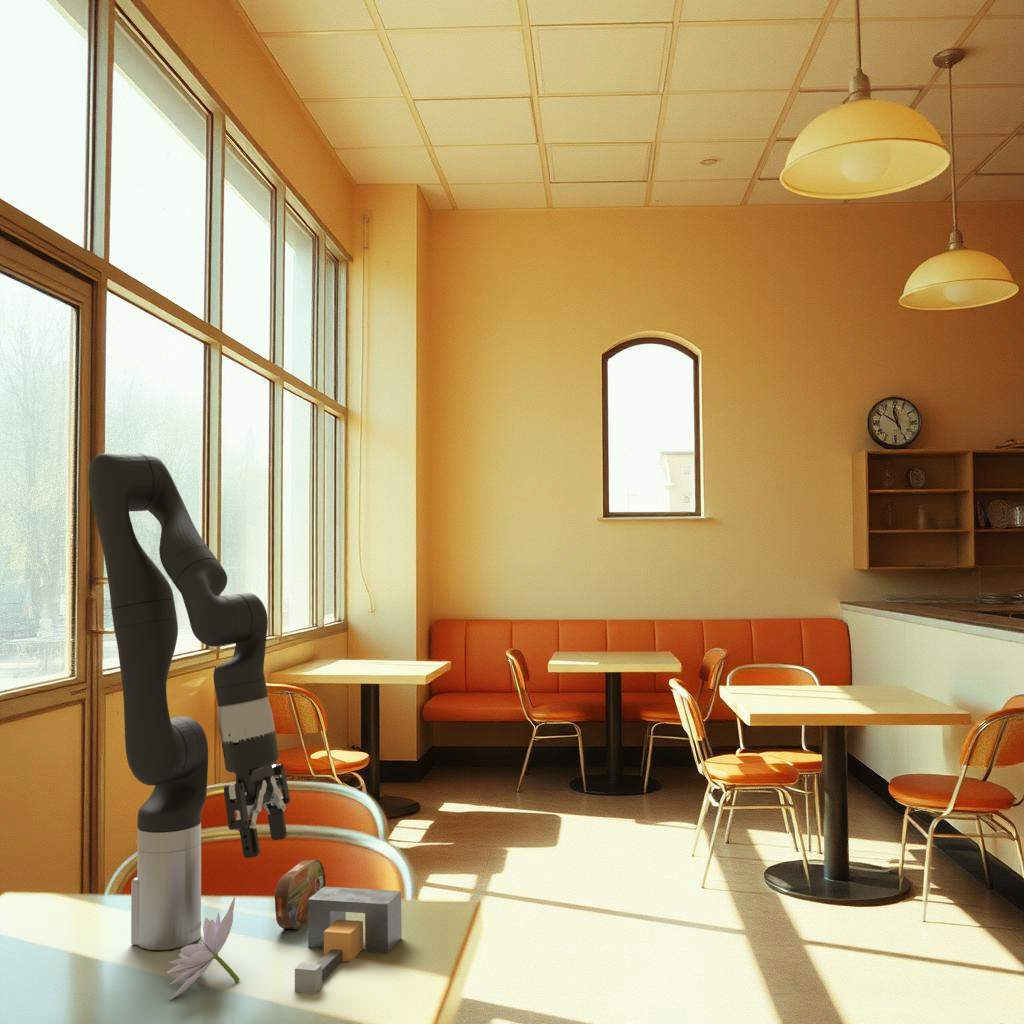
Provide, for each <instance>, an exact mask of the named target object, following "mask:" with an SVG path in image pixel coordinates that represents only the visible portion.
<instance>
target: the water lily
mask: <svg viewBox="0 0 1024 1024" xmlns="http://www.w3.org/2000/svg"><path fill="white" fill-rule="evenodd" d="M235 902H236V896H234V897H233V899H232V901H231V903H230V905H229V907H228V910H227V911H226V913H225V915H224V916H223V918H222V920H221V917H220V911H218V912H217V916H216V921H215V920H214V919H209V918H208V917H205V918H204V920H203V921H204V922H203V926H202V927H203V928H202V931H203V939H201V941H202V943H201V942H200V943H196V944H195V943H194V944H193V943H191V944H189V945H186V946H183V947H181V948H180V952H179V953H178V957H180V958H179V959H173V960H171V961H168V962H167V963H169V964H175V966H173V967H172V968H170V969H169V970H168V971H167V972H166V973H167V974H176V973H182V972H184V973H182V974H181V975H179V976H178V977H177V978H176V979H174V980H173V981H171V982H170V985H173V984H176V983H178V982H181V981H183V980H185V979H187V978H188V977H189V978H188V979H187V980H186V981H185V982H184V983H182V985H181V986H180V988H179V989H177V991H176V992H175V993H174V994H173V995H172V996H171V998H170V1000H169V1001H171V1000H173V999H175V998H177V997H178V996H179V995H181V994H182V993H184V992H185V991H186V990H187V989H188V988H190V987H191V986H192V984H193V983H195V982H197V980H198V979H199V978H200V977H201V976H202V975H203V973H204V972H206V970H207V969H208V968H209V967H210V965H211V964H212V962H213V961H214V960H215V961H217V962H218V963H219V964H220V966H222V968H223V969H224V970H225V971H226V972H227V973H228V974H229V976H230V977H231V978H232V979H233V981H234V982H235V983H236V982H237V983H238V982H240V979H241V978H240V977H239V976H238V975H237V973H236V972H235V971H234V970H233V969H232V967H230V966H229V965H228V964H227V963H226V961H224V960H223V959H222V958H221V957H220V956H219V953H220V952H221V950H222V949H223V947H224V946H225V943H226V942H227V940H228V938H229V935H230V932H231V929H232V926H233V921H234V909H235V904H236V903H235ZM176 964H177V965H176Z"/></svg>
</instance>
